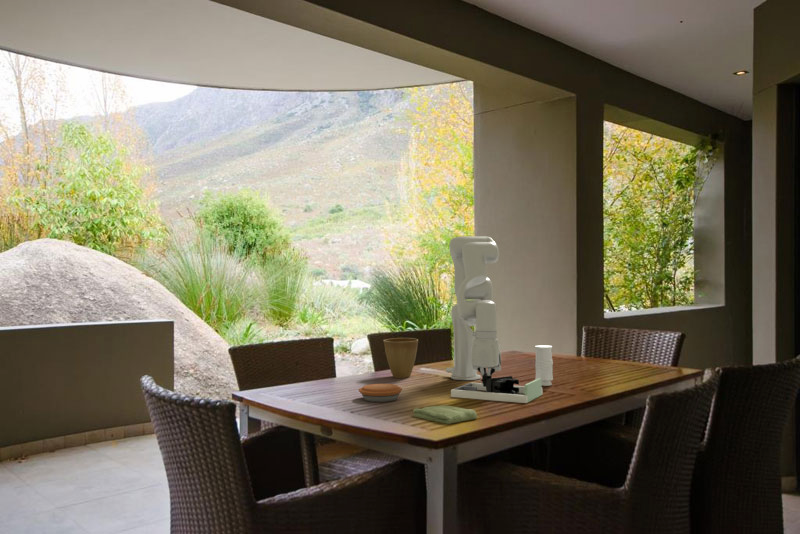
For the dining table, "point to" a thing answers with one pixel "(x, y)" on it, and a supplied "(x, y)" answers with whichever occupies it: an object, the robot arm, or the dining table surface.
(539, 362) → the candle
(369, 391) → the pie
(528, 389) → the finger lane
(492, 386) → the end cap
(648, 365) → the dining table surface
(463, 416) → the washcloth
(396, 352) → the plant pot
